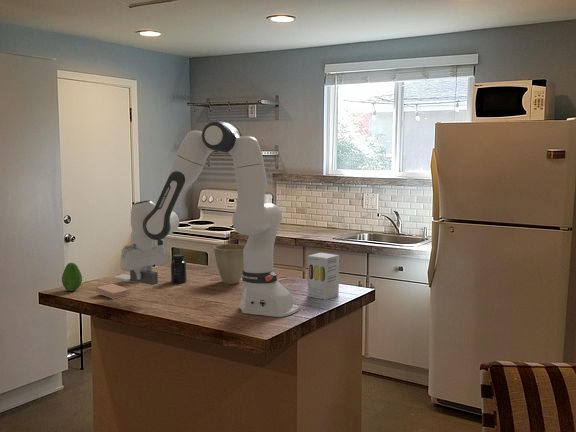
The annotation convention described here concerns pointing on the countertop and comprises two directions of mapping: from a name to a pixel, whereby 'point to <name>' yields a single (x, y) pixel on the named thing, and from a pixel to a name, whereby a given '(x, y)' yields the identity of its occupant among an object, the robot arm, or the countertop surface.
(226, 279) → the plant pot
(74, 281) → the avocado
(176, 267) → the supplement bottle
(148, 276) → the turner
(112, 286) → the glazed tile
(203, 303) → the countertop surface
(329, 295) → the supplement box
